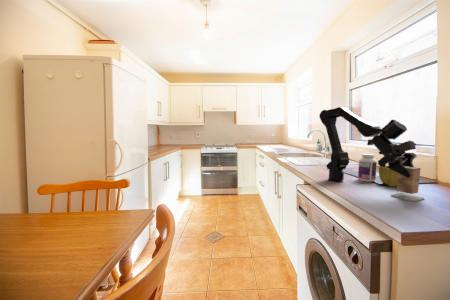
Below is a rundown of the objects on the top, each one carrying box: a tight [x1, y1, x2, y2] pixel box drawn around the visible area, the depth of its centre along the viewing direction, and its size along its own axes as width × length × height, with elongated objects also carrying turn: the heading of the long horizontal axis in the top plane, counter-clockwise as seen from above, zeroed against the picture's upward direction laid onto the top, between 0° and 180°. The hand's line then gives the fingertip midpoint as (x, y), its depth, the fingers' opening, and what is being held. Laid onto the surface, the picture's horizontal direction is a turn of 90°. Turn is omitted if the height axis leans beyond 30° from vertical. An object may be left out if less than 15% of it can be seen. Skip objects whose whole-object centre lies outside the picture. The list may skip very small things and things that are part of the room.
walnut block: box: [396, 166, 421, 195], centre depth 90 cm, size 5×5×10 cm
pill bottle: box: [357, 153, 378, 183], centre depth 120 cm, size 8×8×14 cm
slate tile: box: [390, 192, 425, 203], centre depth 91 cm, size 8×8×1 cm
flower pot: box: [378, 165, 399, 187], centre depth 111 cm, size 9×9×9 cm
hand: (412, 176), depth 89 cm, fingers closed on walnut block, 5 cm apart
